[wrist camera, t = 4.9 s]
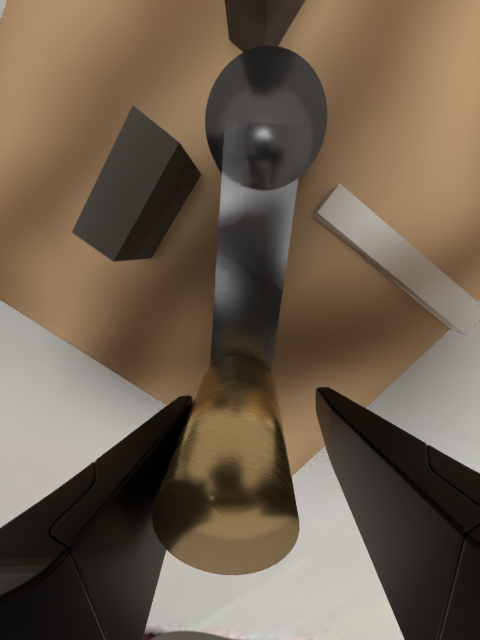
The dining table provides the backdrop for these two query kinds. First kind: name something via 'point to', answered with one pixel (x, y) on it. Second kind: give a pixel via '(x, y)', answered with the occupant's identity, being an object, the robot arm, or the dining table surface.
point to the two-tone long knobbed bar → (245, 324)
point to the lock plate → (205, 187)
